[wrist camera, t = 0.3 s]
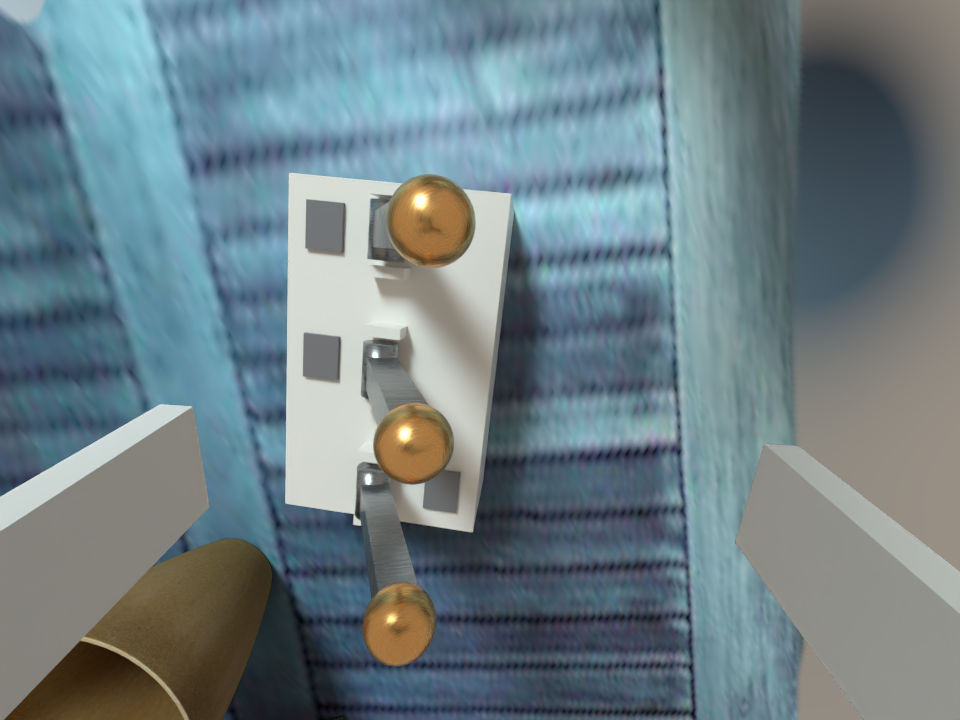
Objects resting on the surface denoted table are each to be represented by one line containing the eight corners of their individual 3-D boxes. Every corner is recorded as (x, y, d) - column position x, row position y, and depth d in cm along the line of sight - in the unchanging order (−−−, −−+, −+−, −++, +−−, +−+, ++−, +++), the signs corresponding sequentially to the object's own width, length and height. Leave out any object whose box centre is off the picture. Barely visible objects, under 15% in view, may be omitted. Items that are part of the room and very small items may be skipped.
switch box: (341, 193, 36) (275, 167, 26) (514, 210, 34) (510, 189, 25) (331, 463, 41) (273, 521, 31) (482, 485, 40) (469, 552, 30)
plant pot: (246, 658, 46) (104, 857, 31) (142, 558, 45) (-61, 712, 29) (342, 582, 43) (239, 760, 28) (233, 473, 42) (60, 594, 26)
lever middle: (353, 338, 28) (380, 418, 15) (403, 340, 29) (468, 416, 16) (351, 389, 29) (375, 506, 16) (400, 389, 30) (459, 499, 17)
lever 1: (359, 199, 26) (396, 155, 14) (412, 207, 28) (493, 173, 15) (357, 257, 27) (389, 268, 14) (408, 262, 28) (482, 277, 15)
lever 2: (348, 461, 30) (368, 624, 17) (395, 458, 31) (447, 610, 18) (346, 506, 31) (364, 695, 18) (392, 502, 32) (440, 678, 19)
